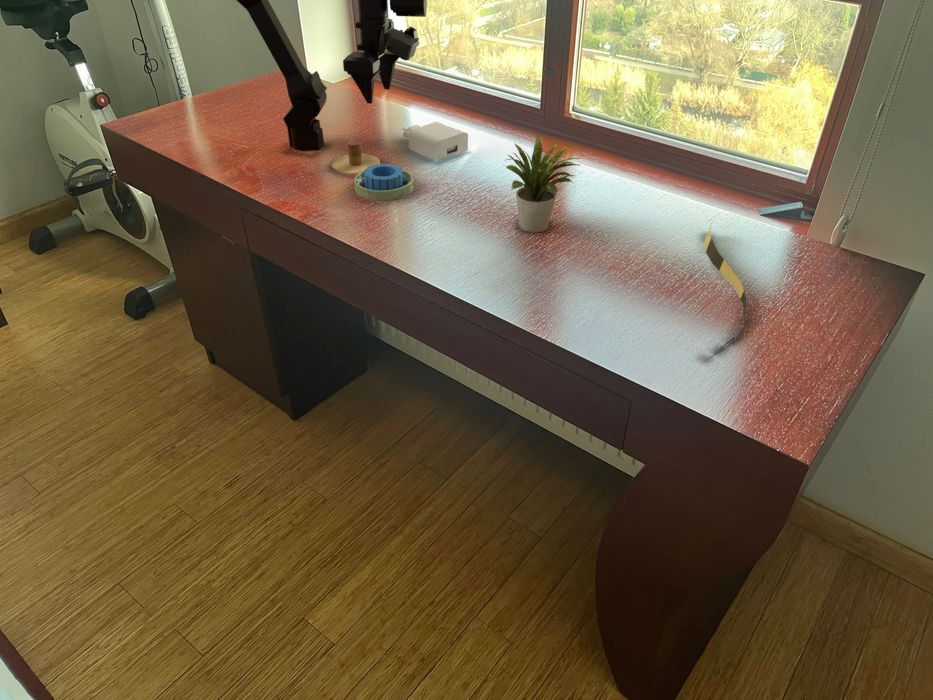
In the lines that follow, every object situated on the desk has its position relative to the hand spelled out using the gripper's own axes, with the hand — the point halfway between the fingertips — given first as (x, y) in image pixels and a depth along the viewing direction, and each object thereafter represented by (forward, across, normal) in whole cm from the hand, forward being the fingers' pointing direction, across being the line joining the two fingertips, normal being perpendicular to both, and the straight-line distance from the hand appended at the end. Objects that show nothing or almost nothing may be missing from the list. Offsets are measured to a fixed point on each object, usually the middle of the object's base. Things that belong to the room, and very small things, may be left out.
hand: (378, 96), depth 154 cm
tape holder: (+12, -9, +2) cm, 15 cm away
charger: (+12, +5, -9) cm, 16 cm away
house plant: (+12, -24, -39) cm, 47 cm away
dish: (+12, -18, -8) cm, 23 cm away
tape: (+12, -35, -71) cm, 80 cm away
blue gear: (+12, -18, -8) cm, 23 cm away
